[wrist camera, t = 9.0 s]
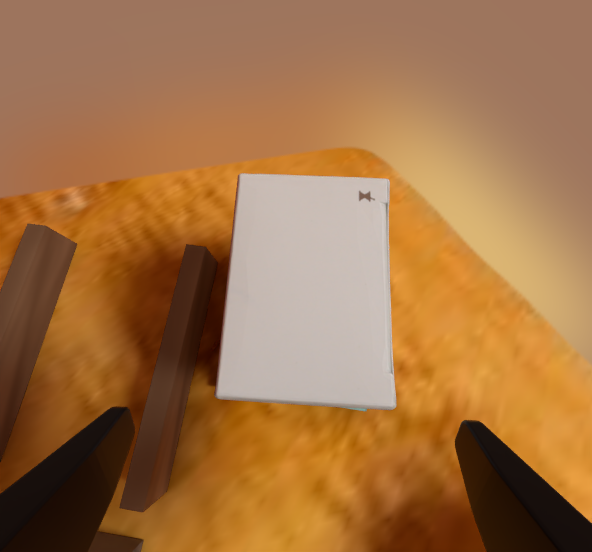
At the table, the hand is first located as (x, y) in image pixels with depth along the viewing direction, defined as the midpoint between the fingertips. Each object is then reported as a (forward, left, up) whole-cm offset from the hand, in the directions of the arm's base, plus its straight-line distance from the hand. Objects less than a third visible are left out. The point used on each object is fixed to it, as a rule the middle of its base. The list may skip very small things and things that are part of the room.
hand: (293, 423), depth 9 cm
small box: (0, -4, -11) cm, 12 cm away
